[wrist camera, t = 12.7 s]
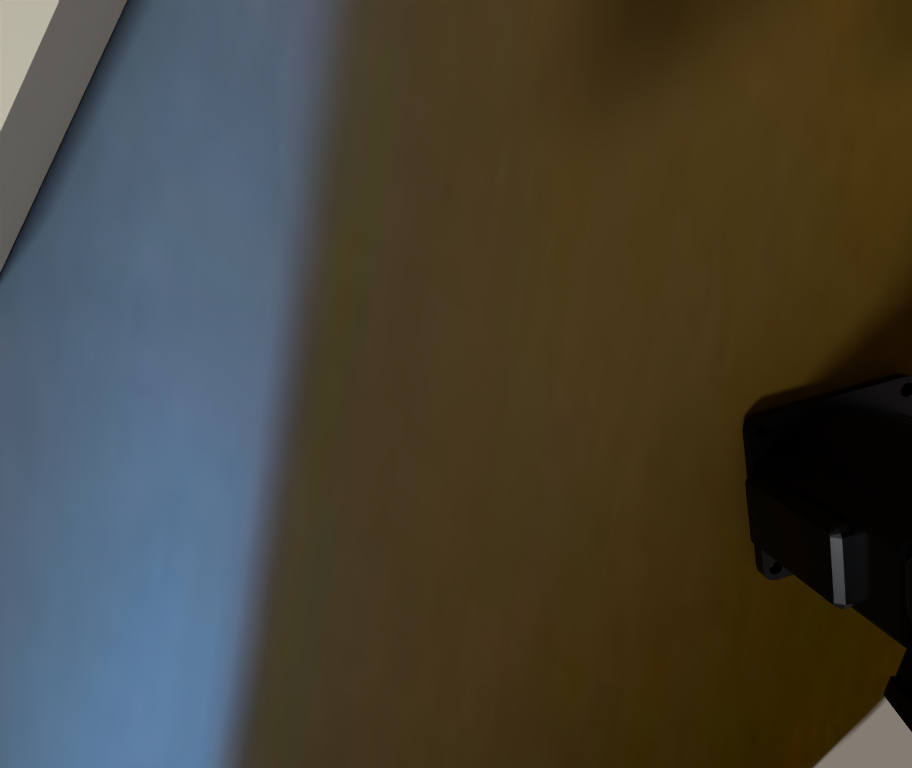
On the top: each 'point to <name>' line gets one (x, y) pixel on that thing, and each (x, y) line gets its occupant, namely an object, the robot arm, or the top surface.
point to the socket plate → (42, 91)
